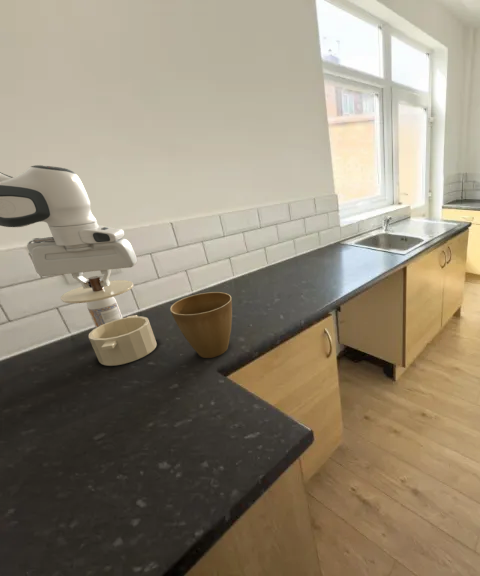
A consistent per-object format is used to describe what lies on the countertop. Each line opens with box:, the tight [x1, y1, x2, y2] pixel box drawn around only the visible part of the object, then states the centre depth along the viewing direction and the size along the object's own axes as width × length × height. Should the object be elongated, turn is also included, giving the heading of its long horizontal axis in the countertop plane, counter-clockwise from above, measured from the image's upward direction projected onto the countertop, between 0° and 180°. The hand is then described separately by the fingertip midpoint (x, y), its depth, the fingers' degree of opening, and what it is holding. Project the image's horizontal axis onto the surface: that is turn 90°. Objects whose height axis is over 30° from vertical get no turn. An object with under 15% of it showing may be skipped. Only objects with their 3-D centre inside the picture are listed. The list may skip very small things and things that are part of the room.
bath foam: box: [86, 278, 124, 328], centre depth 99 cm, size 7×7×20 cm
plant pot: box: [169, 291, 233, 359], centre depth 90 cm, size 15×15×16 cm
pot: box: [88, 314, 158, 367], centre depth 92 cm, size 14×19×8 cm
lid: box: [60, 275, 134, 304], centre depth 84 cm, size 15×15×5 cm
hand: (97, 286), depth 84 cm, fingers closed on lid, 2 cm apart
